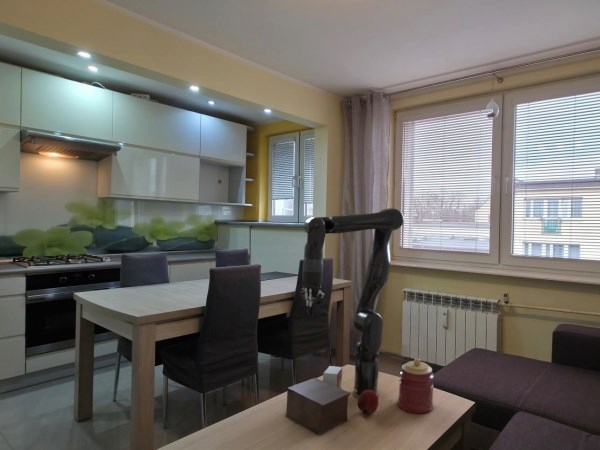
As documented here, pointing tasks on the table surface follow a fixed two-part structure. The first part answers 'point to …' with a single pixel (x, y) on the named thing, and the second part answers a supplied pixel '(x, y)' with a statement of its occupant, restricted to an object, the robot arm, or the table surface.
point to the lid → (318, 392)
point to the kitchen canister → (416, 387)
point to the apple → (368, 401)
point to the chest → (316, 413)
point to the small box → (333, 376)
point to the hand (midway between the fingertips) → (310, 315)
